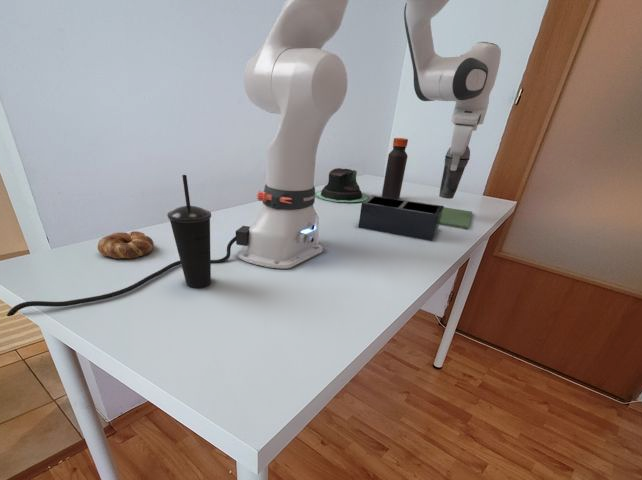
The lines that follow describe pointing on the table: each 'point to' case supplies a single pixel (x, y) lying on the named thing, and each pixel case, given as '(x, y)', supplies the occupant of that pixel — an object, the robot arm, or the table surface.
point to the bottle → (395, 169)
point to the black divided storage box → (400, 217)
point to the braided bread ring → (125, 245)
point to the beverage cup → (452, 174)
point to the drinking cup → (192, 241)
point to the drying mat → (455, 218)
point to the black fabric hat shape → (342, 187)
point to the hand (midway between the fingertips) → (454, 168)
